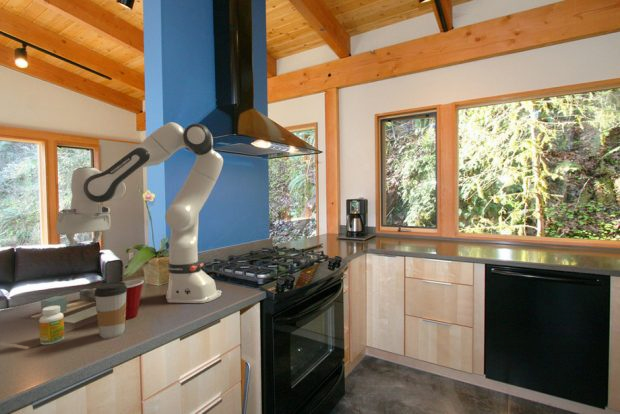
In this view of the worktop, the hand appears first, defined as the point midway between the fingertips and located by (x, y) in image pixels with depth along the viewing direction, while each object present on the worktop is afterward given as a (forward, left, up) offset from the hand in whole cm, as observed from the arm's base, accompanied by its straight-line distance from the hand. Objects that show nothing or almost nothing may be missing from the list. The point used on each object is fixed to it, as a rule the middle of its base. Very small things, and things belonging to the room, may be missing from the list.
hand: (85, 244), depth 120 cm
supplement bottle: (-22, +27, -24) cm, 42 cm away
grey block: (-13, +7, -23) cm, 28 cm away
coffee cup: (-35, +19, -24) cm, 46 cm away
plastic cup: (-28, +7, -24) cm, 37 cm away
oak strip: (-1, +7, -23) cm, 25 cm away
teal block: (-1, +12, -23) cm, 26 cm away
